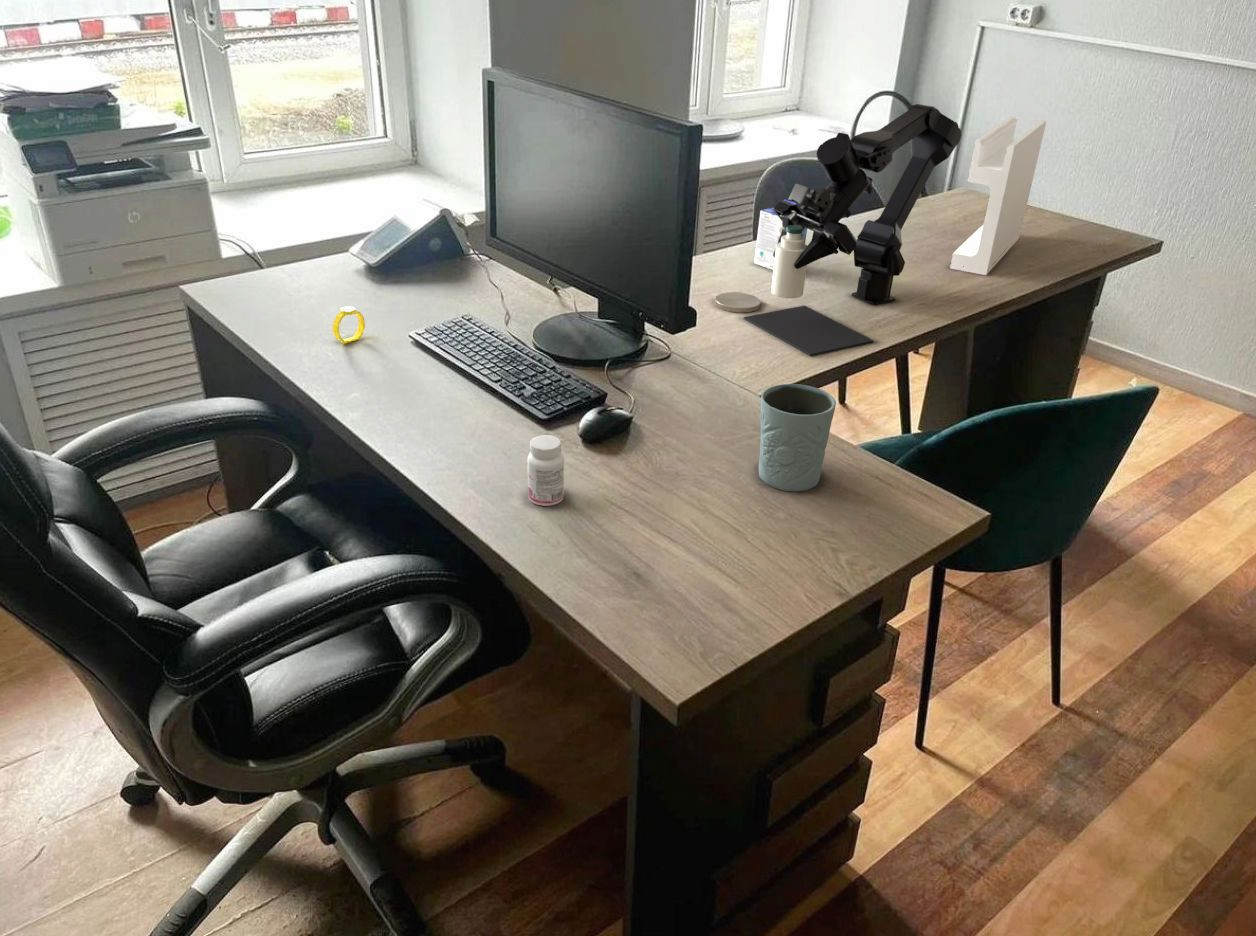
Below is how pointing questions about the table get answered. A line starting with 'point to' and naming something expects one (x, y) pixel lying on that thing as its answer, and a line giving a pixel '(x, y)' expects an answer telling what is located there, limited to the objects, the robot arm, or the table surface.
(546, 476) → the pill bottle
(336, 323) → the yellow ring
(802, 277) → the bottle
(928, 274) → the table surface
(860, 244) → the robot arm
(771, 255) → the ink cartridge box
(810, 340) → the felt mat
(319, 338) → the table surface
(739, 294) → the off-white round coaster
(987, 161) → the white stand
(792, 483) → the light blue embossed cup
